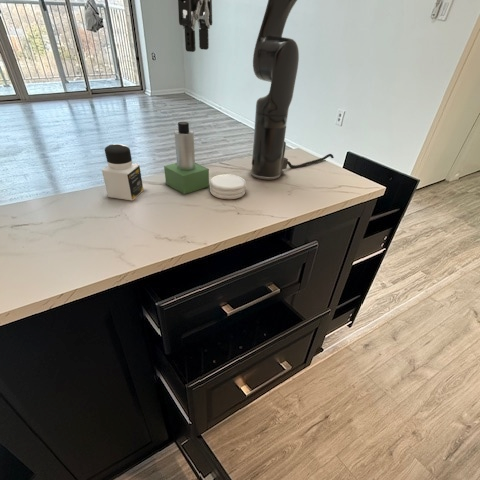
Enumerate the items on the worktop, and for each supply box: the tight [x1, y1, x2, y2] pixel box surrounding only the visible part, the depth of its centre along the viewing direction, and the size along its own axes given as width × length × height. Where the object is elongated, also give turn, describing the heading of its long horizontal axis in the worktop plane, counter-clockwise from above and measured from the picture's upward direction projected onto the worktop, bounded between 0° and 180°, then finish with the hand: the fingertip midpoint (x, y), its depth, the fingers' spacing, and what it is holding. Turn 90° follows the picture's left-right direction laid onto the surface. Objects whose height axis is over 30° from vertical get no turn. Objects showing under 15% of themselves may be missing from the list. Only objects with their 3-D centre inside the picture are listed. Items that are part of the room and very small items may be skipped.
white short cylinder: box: [209, 173, 247, 200], centre depth 90 cm, size 10×10×4 cm
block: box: [163, 162, 210, 195], centre depth 91 cm, size 9×9×5 cm
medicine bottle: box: [101, 143, 144, 201], centre depth 83 cm, size 7×7×12 cm
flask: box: [173, 121, 196, 171], centre depth 86 cm, size 5×5×11 cm
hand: (197, 50), depth 77 cm, fingers open, 8 cm apart
